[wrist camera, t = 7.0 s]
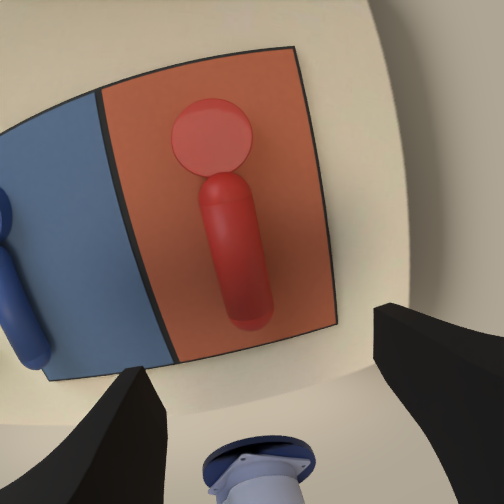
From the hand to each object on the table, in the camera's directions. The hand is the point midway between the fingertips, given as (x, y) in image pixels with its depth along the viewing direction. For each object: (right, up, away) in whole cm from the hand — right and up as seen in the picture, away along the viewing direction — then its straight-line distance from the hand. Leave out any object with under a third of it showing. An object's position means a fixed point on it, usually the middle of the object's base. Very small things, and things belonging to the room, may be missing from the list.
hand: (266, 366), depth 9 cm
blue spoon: (-15, +2, +5) cm, 16 cm away
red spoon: (-2, +5, +6) cm, 8 cm away
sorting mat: (-6, +4, +7) cm, 10 cm away
